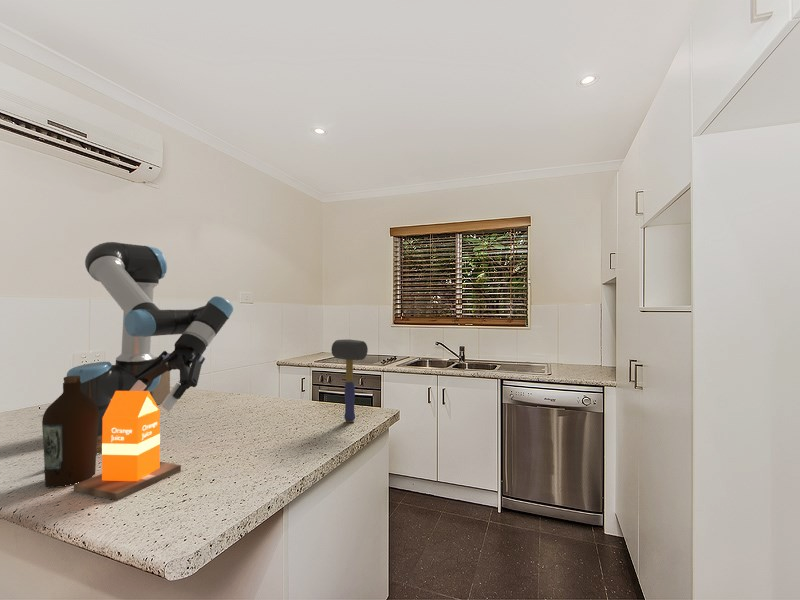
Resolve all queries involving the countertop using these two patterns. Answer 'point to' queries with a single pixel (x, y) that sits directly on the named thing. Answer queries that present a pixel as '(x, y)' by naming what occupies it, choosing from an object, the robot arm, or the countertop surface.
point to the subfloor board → (124, 483)
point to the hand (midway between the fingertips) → (144, 407)
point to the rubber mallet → (349, 369)
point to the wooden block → (161, 388)
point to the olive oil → (70, 436)
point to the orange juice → (130, 437)
